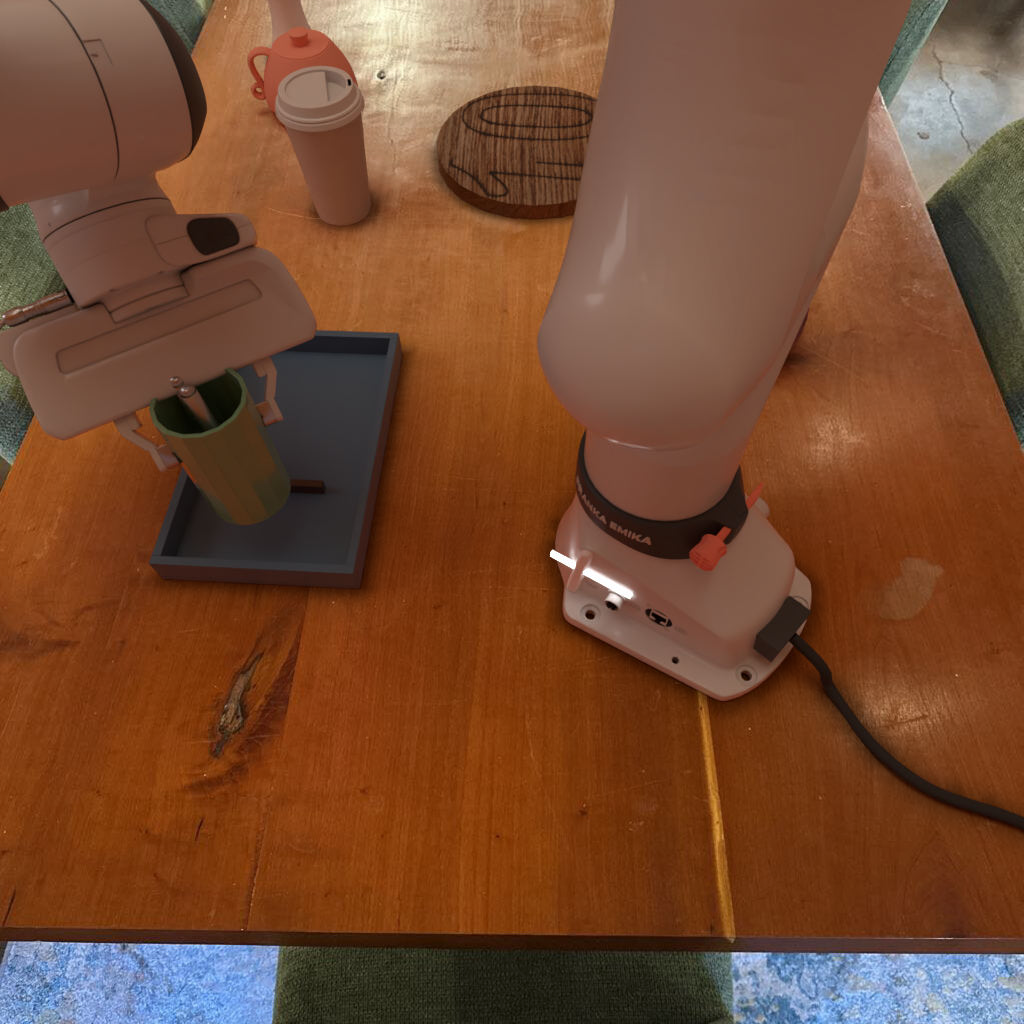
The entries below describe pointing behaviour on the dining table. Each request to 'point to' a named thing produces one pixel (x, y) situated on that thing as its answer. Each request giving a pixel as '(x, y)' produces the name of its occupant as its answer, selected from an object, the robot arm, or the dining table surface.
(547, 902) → the dining table surface
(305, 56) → the sugar bowl
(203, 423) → the ball-tipped brown rod
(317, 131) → the coffee cup
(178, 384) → the tong
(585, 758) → the dining table surface
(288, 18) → the vase
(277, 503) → the green cup
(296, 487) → the bar
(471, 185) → the trivet
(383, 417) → the tray
